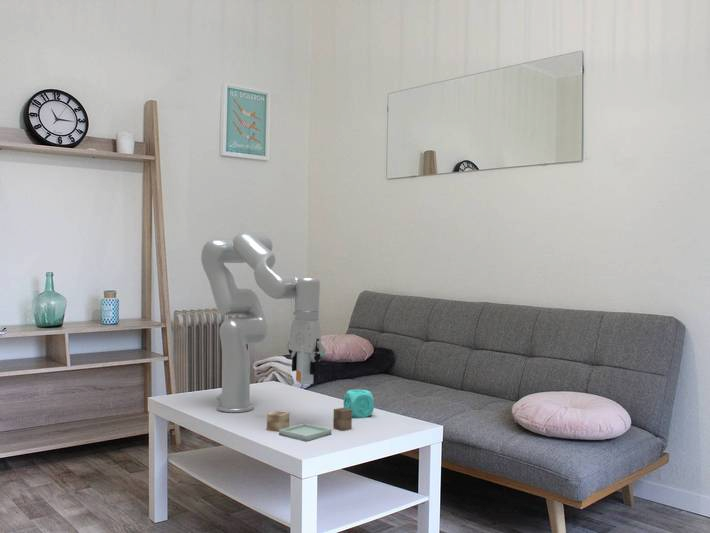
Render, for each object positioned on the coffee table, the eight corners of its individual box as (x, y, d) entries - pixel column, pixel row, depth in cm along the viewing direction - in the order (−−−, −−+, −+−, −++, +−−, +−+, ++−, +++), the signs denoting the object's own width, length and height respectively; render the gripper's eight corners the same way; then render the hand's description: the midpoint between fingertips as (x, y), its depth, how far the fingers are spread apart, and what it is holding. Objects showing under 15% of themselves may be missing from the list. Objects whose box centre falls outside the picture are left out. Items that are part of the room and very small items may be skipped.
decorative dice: (364, 412, 232) (364, 388, 232) (374, 417, 225) (374, 393, 225) (343, 413, 229) (343, 390, 229) (351, 418, 222) (352, 394, 222)
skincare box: (295, 380, 215) (296, 343, 214) (308, 380, 216) (309, 343, 216) (300, 384, 209) (302, 346, 209) (313, 384, 210) (315, 346, 210)
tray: (279, 434, 199) (279, 429, 199) (304, 428, 208) (304, 423, 208) (306, 441, 192) (306, 436, 192) (331, 434, 201) (331, 429, 201)
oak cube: (266, 430, 204) (267, 414, 204) (275, 426, 209) (275, 410, 209) (280, 432, 202) (281, 415, 202) (289, 428, 207) (289, 412, 207)
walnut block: (333, 428, 208) (333, 409, 208) (343, 426, 211) (343, 407, 211) (341, 431, 205) (341, 411, 205) (351, 429, 208) (351, 409, 208)
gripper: (278, 314, 215) (276, 369, 215) (319, 319, 204) (317, 377, 204) (295, 313, 220) (293, 367, 221) (335, 318, 210) (333, 374, 210)
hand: (304, 371), depth 212 cm, fingers closed on skincare box, 7 cm apart
